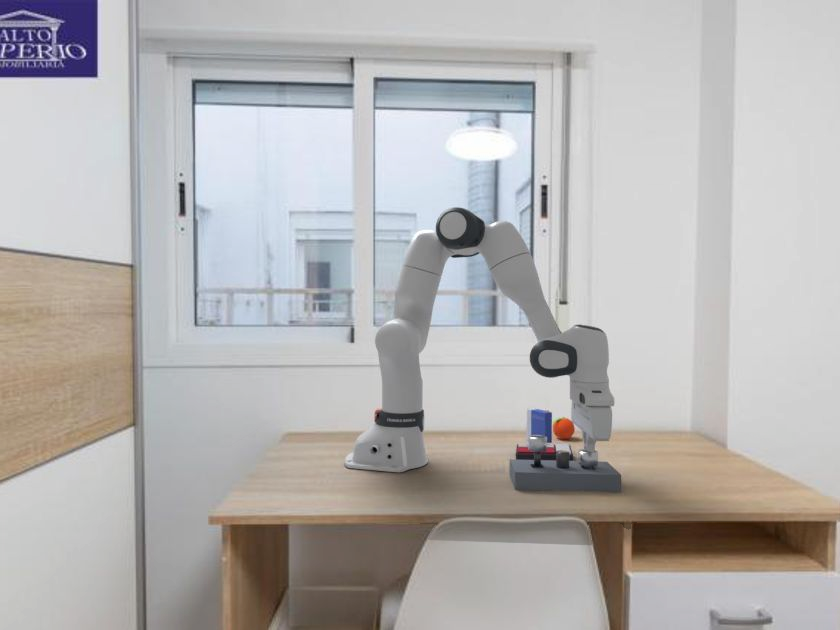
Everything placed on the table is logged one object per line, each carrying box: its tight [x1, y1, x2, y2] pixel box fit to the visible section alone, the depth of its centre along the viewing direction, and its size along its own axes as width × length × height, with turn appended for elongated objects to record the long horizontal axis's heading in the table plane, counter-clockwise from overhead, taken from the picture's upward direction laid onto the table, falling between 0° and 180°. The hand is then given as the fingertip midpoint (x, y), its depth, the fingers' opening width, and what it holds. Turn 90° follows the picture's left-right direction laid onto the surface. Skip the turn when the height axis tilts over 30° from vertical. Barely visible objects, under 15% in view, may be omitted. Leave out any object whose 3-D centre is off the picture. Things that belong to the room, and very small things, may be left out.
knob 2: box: [578, 448, 599, 469], centre depth 116 cm, size 4×4×7 cm
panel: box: [509, 459, 622, 493], centre depth 116 cm, size 24×10×4 cm, turn 87°
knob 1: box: [528, 435, 547, 467], centre depth 116 cm, size 4×4×7 cm
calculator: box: [515, 441, 574, 461], centre depth 135 cm, size 11×4×15 cm
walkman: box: [526, 407, 553, 443], centre depth 146 cm, size 8×3×12 cm, turn 31°
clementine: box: [552, 416, 576, 440], centre depth 158 cm, size 8×7×7 cm
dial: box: [556, 450, 569, 469], centre depth 116 cm, size 3×3×4 cm
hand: (589, 450), depth 116 cm, fingers closed, pressing on knob 2
